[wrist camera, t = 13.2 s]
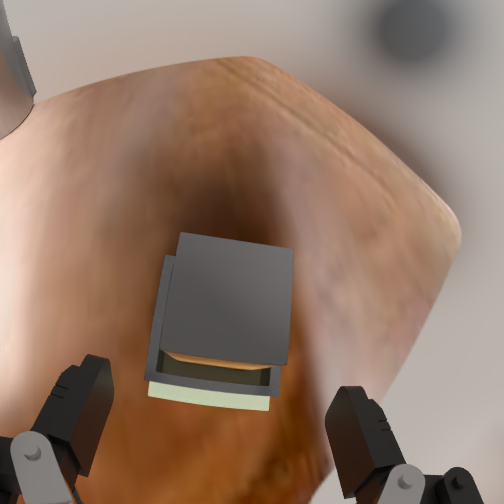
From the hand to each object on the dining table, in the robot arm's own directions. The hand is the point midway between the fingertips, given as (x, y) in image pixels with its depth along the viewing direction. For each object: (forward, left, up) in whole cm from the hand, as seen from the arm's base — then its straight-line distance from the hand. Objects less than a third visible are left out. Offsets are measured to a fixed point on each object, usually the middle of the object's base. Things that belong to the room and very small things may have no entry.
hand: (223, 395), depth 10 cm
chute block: (-4, 0, -10) cm, 11 cm away
